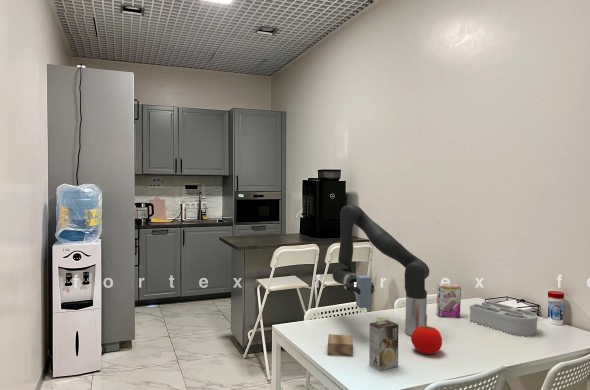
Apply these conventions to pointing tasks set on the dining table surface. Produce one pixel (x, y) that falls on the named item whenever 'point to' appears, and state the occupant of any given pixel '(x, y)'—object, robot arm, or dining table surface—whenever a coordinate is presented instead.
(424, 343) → the tomato
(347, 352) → the walnut block
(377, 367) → the coffee box
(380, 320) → the olive block
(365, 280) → the slate block
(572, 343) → the dining table surface
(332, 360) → the dining table surface
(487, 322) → the gray compartment organizer
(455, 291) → the candy bar box
